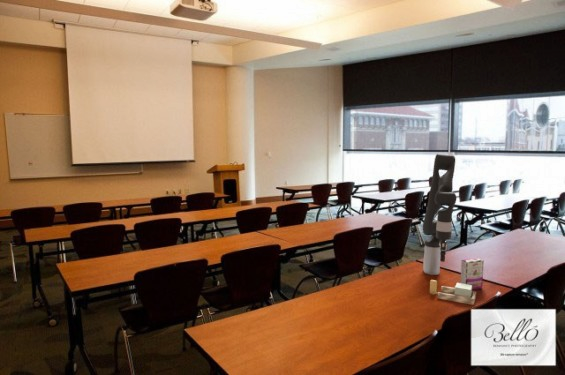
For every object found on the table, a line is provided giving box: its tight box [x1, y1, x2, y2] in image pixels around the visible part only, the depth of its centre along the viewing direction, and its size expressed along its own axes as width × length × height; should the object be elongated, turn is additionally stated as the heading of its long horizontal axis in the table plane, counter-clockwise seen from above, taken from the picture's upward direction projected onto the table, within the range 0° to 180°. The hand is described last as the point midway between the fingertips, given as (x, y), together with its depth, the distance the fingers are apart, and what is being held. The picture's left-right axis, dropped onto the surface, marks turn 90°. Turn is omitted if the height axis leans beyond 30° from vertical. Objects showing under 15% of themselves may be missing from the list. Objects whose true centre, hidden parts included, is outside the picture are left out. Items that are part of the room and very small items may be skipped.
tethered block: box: [429, 279, 473, 298], centre depth 217 cm, size 20×8×7 cm, turn 60°
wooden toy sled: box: [437, 285, 477, 306], centre depth 216 cm, size 17×11×3 cm, turn 60°
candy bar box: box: [460, 257, 485, 291], centre depth 228 cm, size 11×5×16 cm, turn 105°
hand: (442, 259), depth 218 cm, fingers open, 8 cm apart
